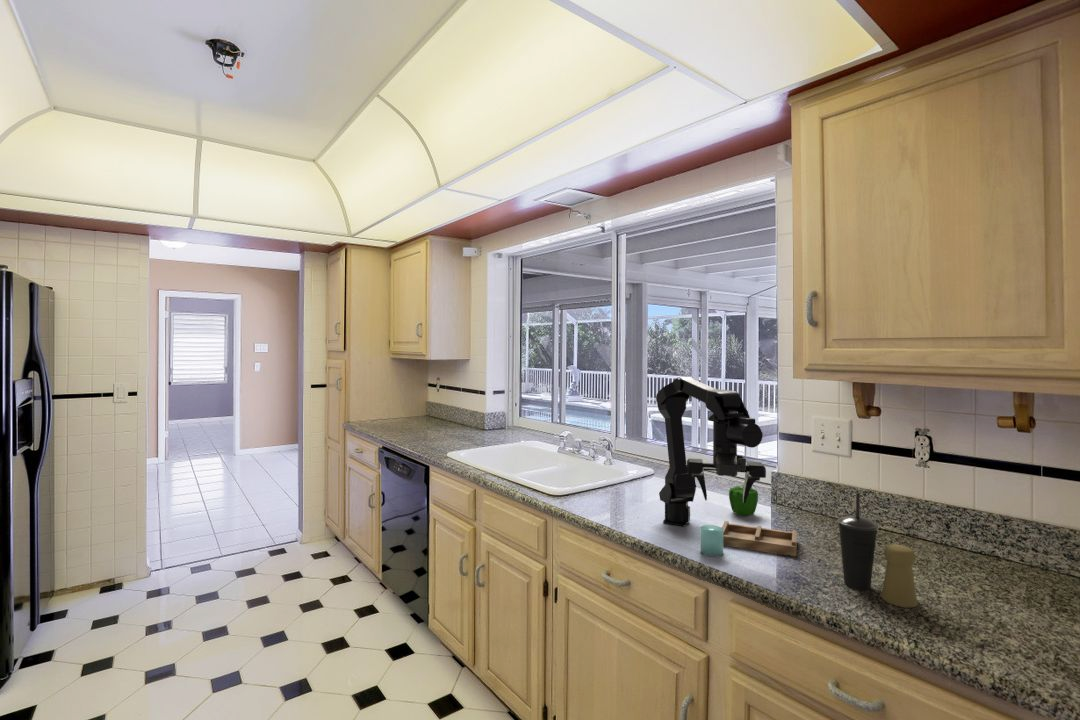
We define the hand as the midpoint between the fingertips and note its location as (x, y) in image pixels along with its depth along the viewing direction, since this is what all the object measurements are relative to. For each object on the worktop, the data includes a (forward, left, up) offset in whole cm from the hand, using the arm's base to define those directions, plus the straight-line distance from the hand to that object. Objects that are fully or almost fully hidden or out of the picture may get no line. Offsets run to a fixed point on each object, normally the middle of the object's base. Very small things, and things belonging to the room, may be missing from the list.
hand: (724, 501), depth 132 cm
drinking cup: (+28, -8, -13) cm, 32 cm away
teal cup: (-3, -3, -12) cm, 13 cm away
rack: (+7, +8, -12) cm, 17 cm away
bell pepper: (+1, +32, -13) cm, 34 cm away
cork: (+35, -12, -13) cm, 39 cm away
